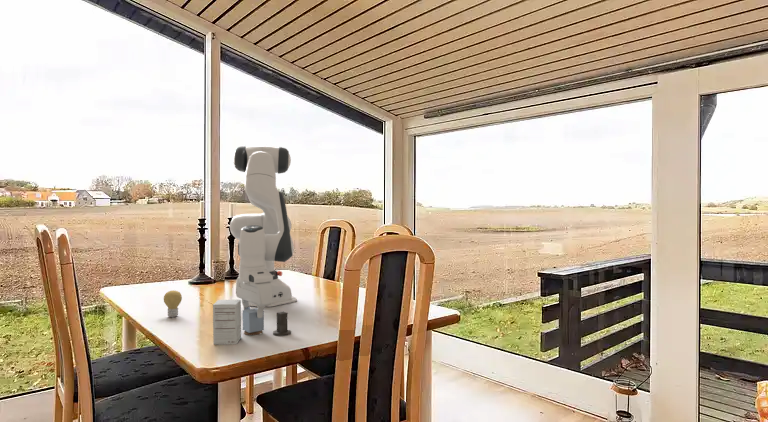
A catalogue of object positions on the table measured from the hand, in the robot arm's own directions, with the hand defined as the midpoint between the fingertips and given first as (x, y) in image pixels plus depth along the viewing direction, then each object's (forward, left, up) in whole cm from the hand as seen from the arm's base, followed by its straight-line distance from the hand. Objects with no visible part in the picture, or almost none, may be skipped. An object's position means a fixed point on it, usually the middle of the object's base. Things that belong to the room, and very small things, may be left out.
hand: (252, 314), depth 166 cm
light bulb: (+13, -42, -6) cm, 44 cm away
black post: (-7, +7, -6) cm, 12 cm away
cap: (0, 0, -5) cm, 5 cm away
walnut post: (0, 0, -6) cm, 6 cm away
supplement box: (+11, +4, -6) cm, 13 cm away
